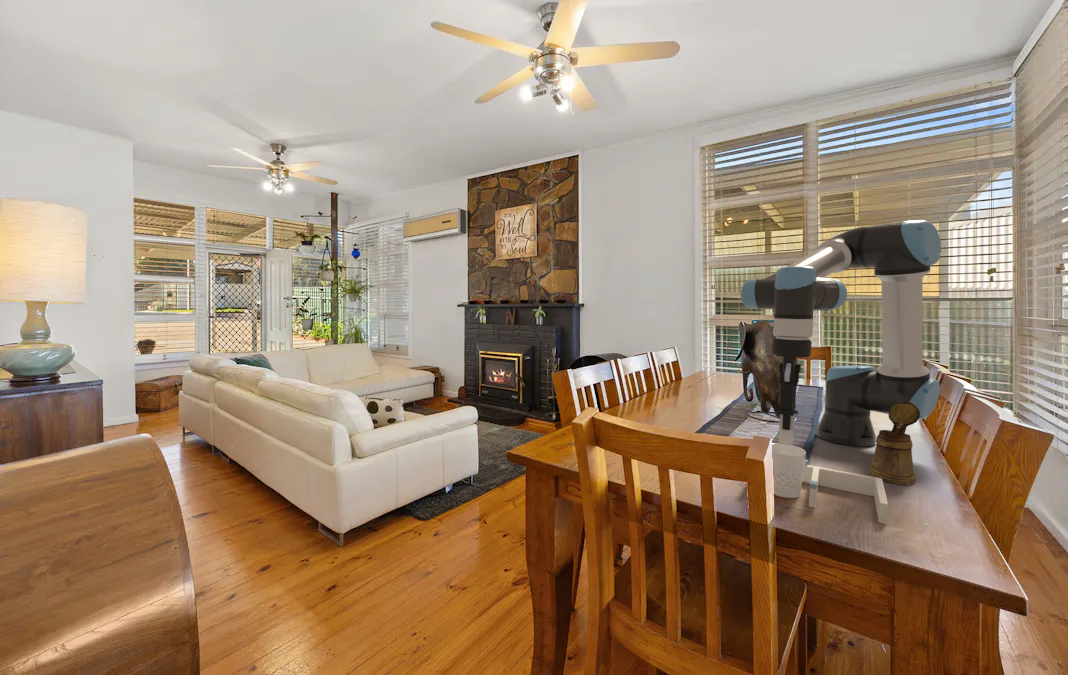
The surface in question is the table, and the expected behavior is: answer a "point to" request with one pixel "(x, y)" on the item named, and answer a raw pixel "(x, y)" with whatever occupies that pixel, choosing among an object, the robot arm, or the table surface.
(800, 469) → the white cup
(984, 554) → the table surface
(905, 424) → the wooden mug
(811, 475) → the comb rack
